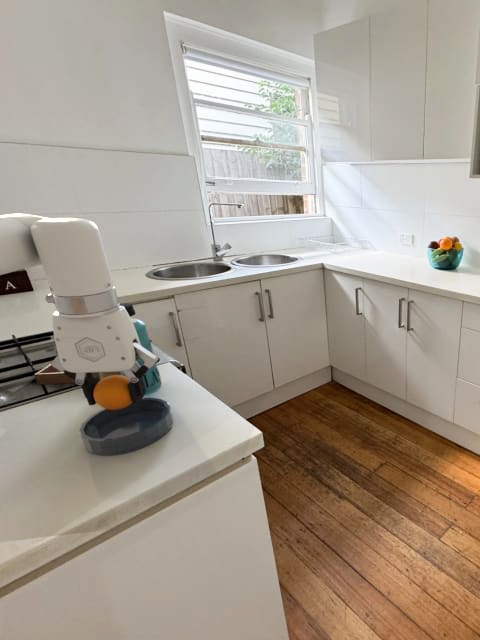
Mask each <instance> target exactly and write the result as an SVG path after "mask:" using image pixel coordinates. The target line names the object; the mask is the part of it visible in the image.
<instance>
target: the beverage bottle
mask: <svg viewBox="0 0 480 640" xmlns="http://www.w3.org/2000/svg"><path fill="white" fill-rule="evenodd" d="M119 305H120V306H124V307H125V309H126V311H127V312H128V314H129V316H130V318H131V320H132V322H133V324H134V327H135V329H136V332H137V335H138V337H139V340H140V344H141V346H142V347H144V348H145V349H147V350H148V351H150V352H151V353H153V354H154V349H153V346H152V341H151V338H150V336H149V333H148V332H147V331H148V330H147V326H146V323H145V322H144V321H142V320H140V319H137V318H135V317H134V318H133V316H135V315H136V314H137V313H136V310H135V308H134V306H133V304H132V303H130V302H119ZM136 361H137V362H138V363H139V365H140V366H142V365H143V364H144V360H143V359H139V360H136ZM157 362H158V361H157ZM157 362H156V363H155V364H154V365H153V366H152V367H151V368H150V369H149V370H148V371H147V372H146V373H145V374H144V375H143V376H142V377H143V381H144V384H145V388H146V394H145V395H144V397H145V396H148V395H151V394H153V393H156V392H157V391H159V390H160V389H161V387H162V379H161V377H162V376H161V374H160V370H159V368H158V365H157ZM120 373H121V375H122V376H126V375H125V374H124V373H123V372H122V371H120ZM126 377H127V376H126Z"/></svg>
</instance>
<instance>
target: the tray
mask: <svg viewBox="0 0 480 640" xmlns="http://www.w3.org/2000/svg"><path fill="white" fill-rule="evenodd" d="M93 376H97V378H98V379H99V381H101V380H100V373H99V372H94V374H93ZM33 377H34V378H35V381H36V383H37V385H58V384H76V383H75V380H74V379H72V378H70V377H69V376H67V375H65V374H64V372H62V371H60V370H58V369H56V368H54V367H53V366H52V365H51V363H50V364H48V365H46V366H45V367H44V368H42V369H40V370H39V371H37V372H35V373H34V374H33ZM41 382H42V383H43V384H41Z"/></svg>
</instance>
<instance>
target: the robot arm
mask: <svg viewBox="0 0 480 640" xmlns="http://www.w3.org/2000/svg"><path fill="white" fill-rule="evenodd" d="M102 239H103V238H102V236H101V233H100V230H99V227H98V225H96V223H95V222H93V221H92V220H89V219H85V218H80V217H53V218H52V217H45V216H41V215H35V214H29V213H9V214H0V276H2V275H5V274H9V273H13V272H17V271H20V270H25V269H29V268H34V267H37V266H42V270H43V272H44V274H45V278H46V280H47V284H48V286H49V289H50V292H51V293H49V294H46V295H45V301H46V302H47V303H48V304H54V305H55V309H56V311H54V312H52V332H53V338H54V342H55V347H56V351H57V356H56V357H55V358H54V359H53V360H52V362H50V364H51V365H52V366H53V367H54V368H56V369H58V370H60V371H62V372H64V374H65V375H67V376H69V377H70V378H72V379H74V380H75V383H74V384H76V385H78V386H81V389H82V392H83V395H84V398H85V399H86V401H87V404H88V405H89V406H95V405H96V404H97V403H96V401H95V399H94V396H93V392H94V388H95V386H96V385H97V383H98V382H99V379H98V378H97V376H93V374H94V372H118V371H122V372H123V373H124V374H125V375H126V376H127V378H128V379H129V380H130V382H129V383H128V384H127V386H128V389H129V392H130V396H131V399H132V402H133V403H138V402H139V401H140V400H141V399H142V398H145V396H146V395H145V394H146V388H145V384H144V381H143V377H142V376H143V375H144V374H145V373H146V372H147V371H148V370H149V369H150V368H151V367H152V366H153V365H154V364H155V363H156V362H158V361H159V359H160V358H159V357H158V356H157V355H156V354H154V352H153V353H151V352H150V351H148V350H147V349H145V348H144V347H142V346H141V344H140V340H139V337H138V335H137V332H136V329H135V327H134V324H133V322H132V320H131V318H132V317H130V316H129V314H128V312H127V311H126V309H125V307H124V306H120V305H119V303H120V301H119V297H118V295H117V290H116V287H115V284H114V279H113V277H112V273H111V272H112V271H111V268H110V266H109V260H108V258H107V254H106V250H105V247H104V243H103V240H102ZM139 359H143V360H144V364H143V365H142V366H140V365H139V363H138V362H137V361H136V360H139ZM156 364H157V363H156ZM144 395H145V396H144Z"/></svg>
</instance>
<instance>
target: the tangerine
mask: <svg viewBox="0 0 480 640" xmlns="http://www.w3.org/2000/svg"><path fill="white" fill-rule="evenodd" d="M129 382H130V380H129V379H128V378H127V377H126V376H122V375H112V376H108V377H106V378H104V379H102V380H101V381H99V382H98V383H97V385H96V386H95V388H94V392H93V396H94V399H95V401H96V404H97V406H100V407H101V408H102V409H109V410H118V409H122V408H125V407H127V406H128V405H130V404H131V403H132V399H131V396H130V392H129V389H128V386H127V384H128V383H129Z"/></svg>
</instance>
